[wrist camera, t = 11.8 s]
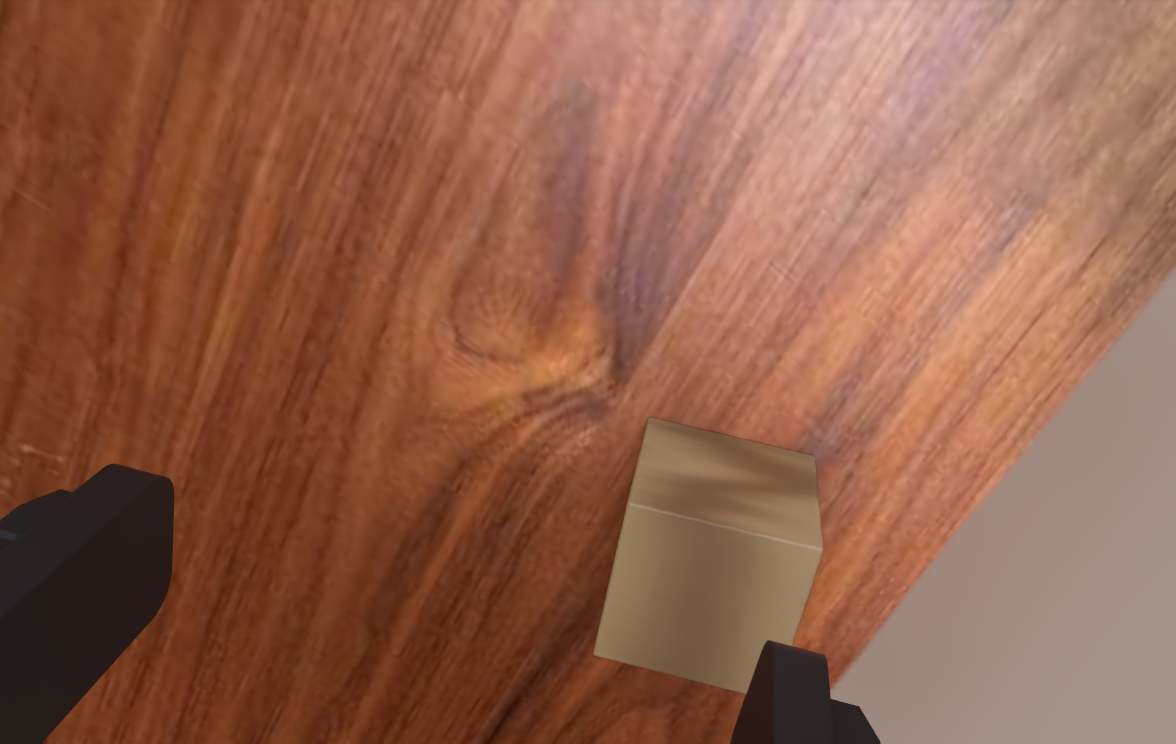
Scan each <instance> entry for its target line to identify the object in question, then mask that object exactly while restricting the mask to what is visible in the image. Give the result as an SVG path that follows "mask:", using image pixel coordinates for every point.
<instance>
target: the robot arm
mask: <svg viewBox="0 0 1176 744" xmlns="http://www.w3.org/2000/svg"><path fill="white" fill-rule="evenodd" d="M173 519H174V487H173V484H172V481H171V480H170V479H169V478H167V477H164V476H160V475H156V474H152V473H149V472H145V471H141V470H137V469H134V468H130V467H126V466H122V465H119V464H110V465H107V466H106V467H104V468H103V469H101V470H100V471H99V472H98V473H96V474H95V475H94V476H93V477H91V478H90V479H89V480H88V481H86V482H85V483H84V484H83V485H81V486H80V487H79V488H78V489H77V490H75V491H74V492H69V491H65V490H62V489H60V490H58V491H55V492H53V493H50V494H48V495H45V496H42V497H40V498H37V499H35V500H32V501H30V502H27V503H25V504H22V505H20V506H18V507H17V508H16V509H14V510H13V511H12V512H10V513H9V514H8V515H6V516H5V517H4V518H2V519H1V520H0V744H41V743H42V742H43V741H44V740H45V739H46V738H47V737H48V735H49V734H50V733H51V732H52V731H53V730H54V729H55V728H56V726H57V725H58V724H59V723H60V722H61V721H62V720H63V719H64V718H65V716H66V715H67V714H68V713H69V712H70V711H71V710H72V709H73V707H74V706H75V705H76V704H77V703H78V702H79V701H80V700H81V699H82V697H83V696H84V695H85V694H86V693H87V692H88V691H89V690H90V688H91V687H92V686H93V685H94V684H95V683H96V682H97V681H98V679H99V678H100V677H101V676H102V675H103V674H104V673H105V672H106V671H107V669H108V668H109V667H110V666H111V665H112V664H113V663H114V662H115V660H116V659H117V658H118V657H119V656H120V655H121V654H122V653H123V652H124V650H125V649H126V648H127V647H128V646H129V645H130V644H131V643H132V641H133V640H134V639H135V638H136V637H137V636H138V635H139V634H140V633H141V631H142V630H143V629H144V628H145V627H146V626H147V625H148V624H149V622H150V621H151V620H152V619H153V618H154V616H155V615H156V614H157V612H158V610H159V609H160V607H161V605H162V603H163V601H164V599H165V596H166V594H167V591H168V588H169V585H170V581H171V575H172V552H173ZM730 744H880V740H879V739H878V737H877V736H876V734H875V732H874V731H873V729H872V727H871V725H870V724H869V722H868V721H867V719H866V717H865V715H864V714H863V712H862V711H861V709H860V707H859V706H855V705H851V704H848V703H844V702H840V701H837V700H833V699H831V698H830V687H829V676H828V665H827V659H826V656H825V655H823V654H819V653H816V652H812V651H808V650H804V649H801V648H797V647H793V646H789V645H786V644H782V643H778V642H774V641H771V640H767V641H766V643H765V645H764V646H763V649H762V651H761V654H760V657H759V659H758V662H757V665H756V668H755V671H754V674H753V676H752V679H751V682H750V685H749V688H748V691H747V694H746V696H745V699H744V702H743V705H742V708H741V711H740V714H739V716H738V719H737V722H736V725H735V728H734V731H733V735H732V738H731V742H730Z"/></svg>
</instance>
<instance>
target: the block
mask: <svg viewBox="0 0 1176 744" xmlns="http://www.w3.org/2000/svg"><path fill="white" fill-rule="evenodd" d="M822 554H823V540H822V529H821V518H820V507H819V495H818V484H817V473H816V462H815V456H813V455H809V454H804V453H800V452H796V451H792V450H787V449H783V448H779V447H775V446H770V445H766V444H762V443H758V442H753V441H749V440H745V439H741V438H736V437H732V436H728V435H724V434H719V433H715V432H711V431H706V430H702V429H698V428H694V427H689V426H685V425H681V424H677V423H672V422H668V421H664V420H660V419H655V418H649V419H648V421H647V425H646V429H645V434H644V438H643V442H642V446H641V450H640V454H639V458H638V462H637V466H636V470H635V474H634V478H633V482H632V486H631V490H630V494H629V498H628V502H627V506H626V511H625V515H624V519H623V524H622V528H621V533H620V537H619V541H618V546H617V550H616V555H615V559H614V563H613V568H612V572H611V576H610V581H609V585H608V590H607V594H606V598H605V603H604V607H603V612H602V616H601V620H600V625H599V629H598V634H597V638H596V642H595V647H594V651H593V653H594V655H595V656H598V657H602V658H606V659H610V660H614V661H618V662H622V663H626V664H630V665H634V666H638V667H642V668H646V669H649V670H653V671H657V672H661V673H665V674H669V675H673V676H677V677H681V678H685V679H689V680H693V681H697V682H701V683H705V684H708V685H712V686H716V687H720V688H724V689H728V690H732V691H736V692H740V693H744V694H747V691H748V688H749V685H750V682H751V679H752V676H753V674H754V671H755V668H756V665H757V662H758V659H759V657H760V654H761V651H762V649H763V646H764V645H765V643H766V641H767V640H771V641H774V642H778V643H782V644H786V645H789V646H792V644H793V641H794V638H795V635H796V632H797V629H798V626H799V623H800V620H801V617H802V614H803V611H804V608H805V605H806V602H807V599H808V596H809V593H810V590H811V587H812V584H813V581H814V578H815V575H816V572H817V569H818V566H819V563H820V560H821V557H822Z"/></svg>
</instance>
